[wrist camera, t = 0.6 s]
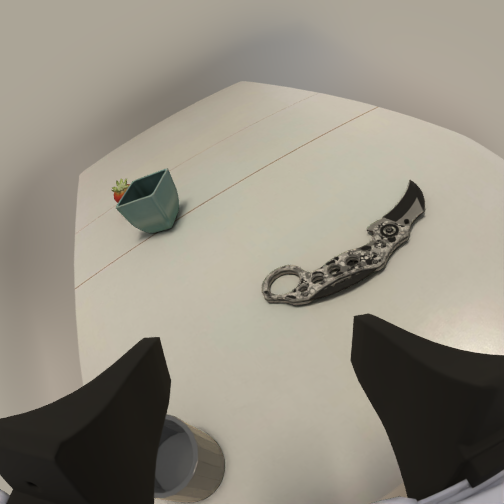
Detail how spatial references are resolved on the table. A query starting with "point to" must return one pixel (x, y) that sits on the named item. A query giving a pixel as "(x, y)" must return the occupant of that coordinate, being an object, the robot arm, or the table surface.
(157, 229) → the flower pot
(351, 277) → the knife
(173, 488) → the holder
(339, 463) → the table surface
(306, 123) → the table surface
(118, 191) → the fruit
